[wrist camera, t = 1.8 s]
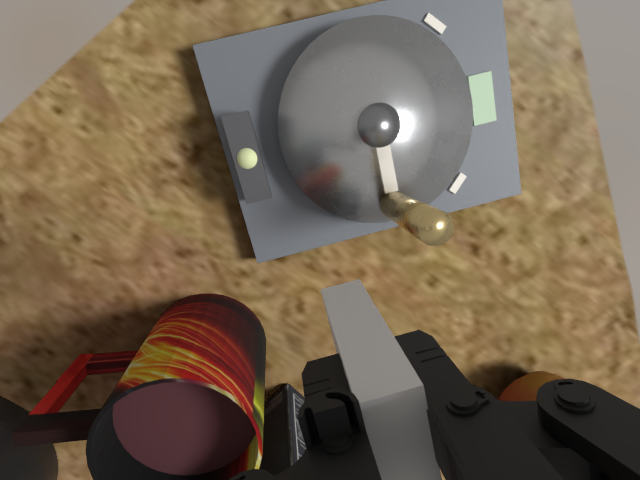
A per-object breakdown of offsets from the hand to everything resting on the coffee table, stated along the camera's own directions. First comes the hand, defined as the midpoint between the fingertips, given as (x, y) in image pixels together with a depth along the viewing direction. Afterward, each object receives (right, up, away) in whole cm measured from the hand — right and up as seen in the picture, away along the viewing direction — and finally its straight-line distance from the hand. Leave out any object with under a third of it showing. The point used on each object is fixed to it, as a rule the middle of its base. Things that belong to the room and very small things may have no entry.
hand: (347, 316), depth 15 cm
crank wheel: (+3, +11, +14) cm, 18 cm away
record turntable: (+3, +12, +16) cm, 20 cm away
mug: (-12, -7, +19) cm, 24 cm away
